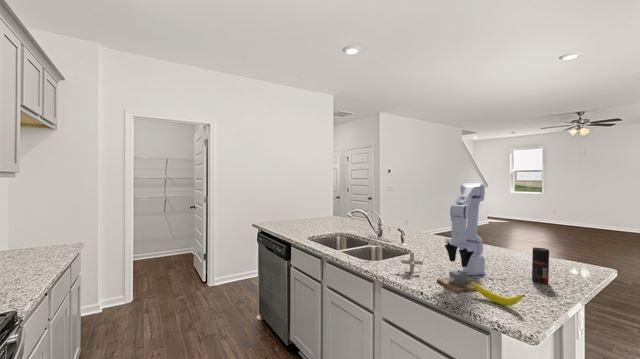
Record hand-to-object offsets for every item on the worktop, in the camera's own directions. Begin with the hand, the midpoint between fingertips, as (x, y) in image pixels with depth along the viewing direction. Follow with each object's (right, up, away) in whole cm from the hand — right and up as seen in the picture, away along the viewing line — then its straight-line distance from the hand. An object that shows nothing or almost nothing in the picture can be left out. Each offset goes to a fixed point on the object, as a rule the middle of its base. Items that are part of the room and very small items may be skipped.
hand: (458, 263), depth 123 cm
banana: (+6, -10, -16) cm, 20 cm away
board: (0, -10, 0) cm, 10 cm away
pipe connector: (-15, -9, +16) cm, 24 cm away
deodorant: (+40, -10, +6) cm, 41 cm away
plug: (0, -8, 0) cm, 8 cm away
